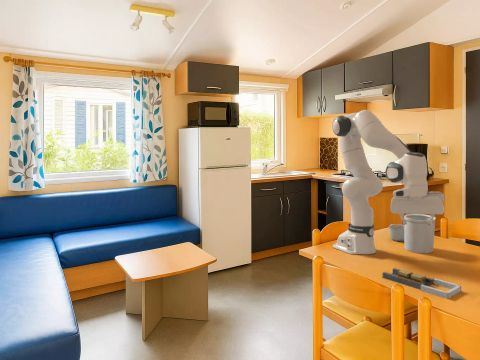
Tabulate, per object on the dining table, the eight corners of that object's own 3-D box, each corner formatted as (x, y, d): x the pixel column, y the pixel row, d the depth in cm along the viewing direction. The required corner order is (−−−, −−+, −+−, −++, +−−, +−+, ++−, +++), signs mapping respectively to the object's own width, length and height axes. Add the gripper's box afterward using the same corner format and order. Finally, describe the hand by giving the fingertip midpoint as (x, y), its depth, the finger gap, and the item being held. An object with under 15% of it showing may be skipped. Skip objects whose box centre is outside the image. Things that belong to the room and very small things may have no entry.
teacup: (412, 242, 216) (412, 228, 215) (392, 242, 216) (392, 228, 215) (402, 236, 230) (402, 222, 229) (383, 236, 230) (383, 223, 229)
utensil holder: (435, 255, 193) (437, 220, 191) (403, 252, 199) (404, 218, 197) (433, 247, 207) (434, 214, 205) (402, 244, 212) (403, 213, 210)
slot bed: (381, 279, 162) (381, 272, 162) (395, 274, 168) (395, 267, 168) (421, 292, 149) (421, 284, 148) (434, 285, 155) (434, 278, 154)
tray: (420, 292, 148) (420, 285, 148) (434, 285, 155) (435, 278, 155) (447, 301, 140) (447, 293, 140) (461, 293, 147) (461, 285, 147)
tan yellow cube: (397, 279, 159) (398, 271, 159) (403, 277, 162) (403, 269, 161) (407, 282, 156) (407, 274, 156) (412, 280, 159) (412, 271, 158)
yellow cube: (410, 283, 155) (410, 275, 155) (415, 281, 158) (416, 272, 157) (420, 286, 152) (420, 277, 152) (425, 283, 154) (425, 275, 154)
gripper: (444, 190, 157) (445, 224, 158) (391, 190, 168) (392, 222, 169) (444, 192, 152) (445, 226, 153) (389, 192, 162) (390, 225, 163)
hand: (417, 224), depth 161 cm, fingers open, 8 cm apart
